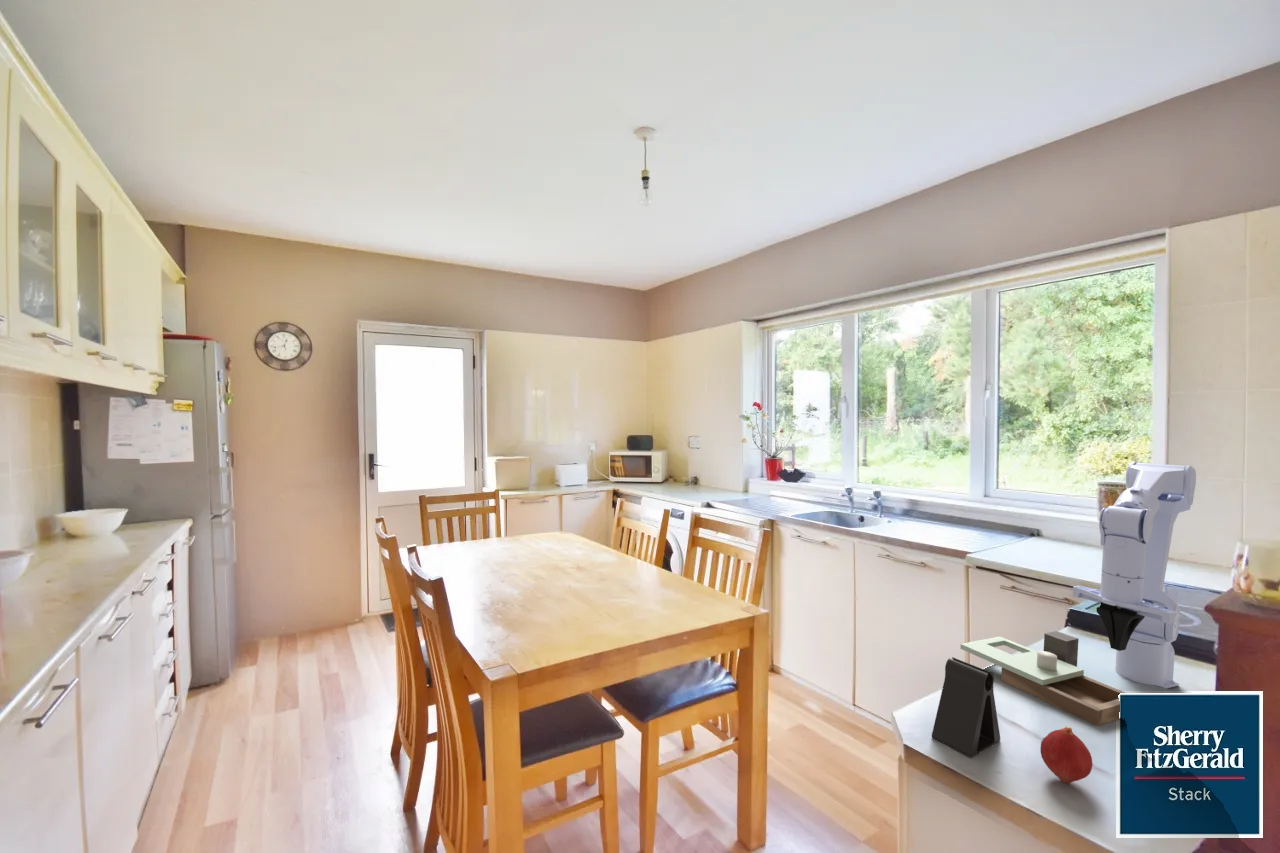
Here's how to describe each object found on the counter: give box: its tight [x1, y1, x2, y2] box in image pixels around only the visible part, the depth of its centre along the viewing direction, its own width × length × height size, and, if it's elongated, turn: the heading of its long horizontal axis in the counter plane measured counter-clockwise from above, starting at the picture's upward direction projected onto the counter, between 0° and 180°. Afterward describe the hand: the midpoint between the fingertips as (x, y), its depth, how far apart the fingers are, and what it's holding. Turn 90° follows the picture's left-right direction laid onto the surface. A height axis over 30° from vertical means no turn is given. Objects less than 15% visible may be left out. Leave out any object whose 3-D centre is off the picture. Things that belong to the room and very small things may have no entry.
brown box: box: [1000, 667, 1126, 727], centre depth 100 cm, size 12×16×4 cm
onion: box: [1039, 726, 1093, 784], centre depth 78 cm, size 6×6×8 cm
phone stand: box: [931, 656, 1001, 759], centre depth 87 cm, size 9×6×12 cm, turn 121°
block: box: [1043, 630, 1079, 667], centre depth 111 cm, size 4×4×8 cm
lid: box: [960, 636, 1085, 685], centre depth 108 cm, size 12×16×4 cm
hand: (1118, 648), depth 99 cm, fingers closed
